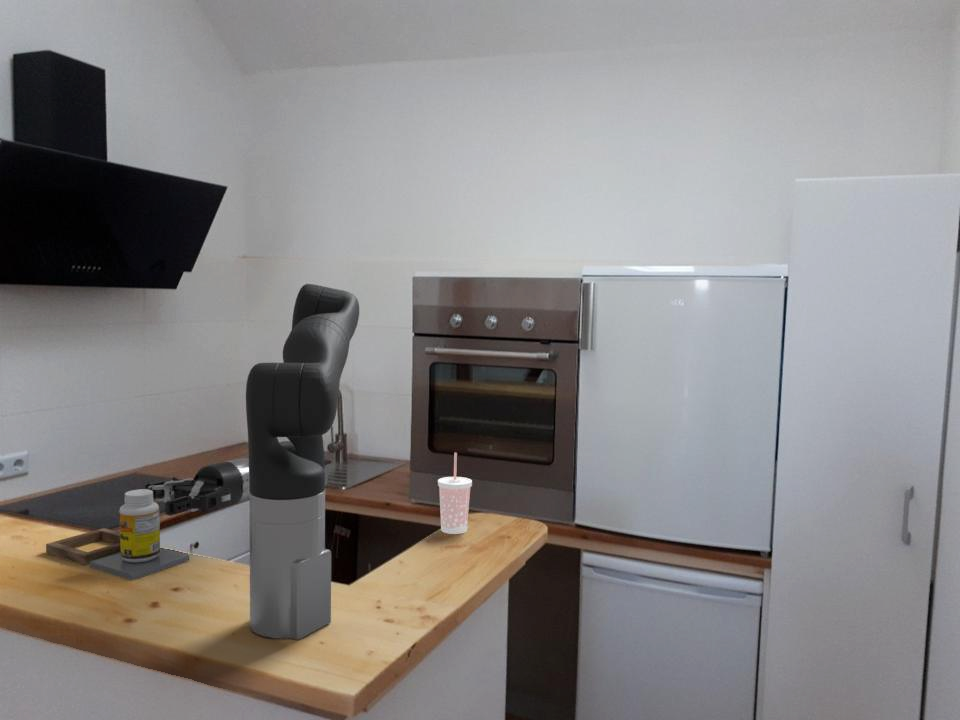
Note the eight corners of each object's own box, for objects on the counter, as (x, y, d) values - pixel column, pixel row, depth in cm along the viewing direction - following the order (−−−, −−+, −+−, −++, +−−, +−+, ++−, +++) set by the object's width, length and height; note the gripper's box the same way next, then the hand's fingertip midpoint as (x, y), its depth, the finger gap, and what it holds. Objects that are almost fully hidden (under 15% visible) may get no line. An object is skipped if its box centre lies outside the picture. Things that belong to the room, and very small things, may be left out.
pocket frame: (143, 547, 127) (142, 538, 127) (85, 565, 119) (85, 555, 119) (104, 536, 132) (103, 528, 132) (46, 553, 124) (46, 544, 124)
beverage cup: (452, 522, 145) (453, 447, 143) (478, 529, 141) (479, 452, 140) (429, 530, 140) (431, 452, 139) (456, 537, 136) (457, 457, 135)
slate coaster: (189, 560, 122) (189, 555, 122) (132, 580, 113) (132, 574, 113) (147, 548, 127) (147, 543, 127) (89, 566, 118) (89, 561, 118)
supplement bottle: (118, 555, 121) (116, 490, 120) (156, 549, 124) (155, 485, 123) (123, 566, 116) (121, 498, 116) (163, 560, 119) (161, 494, 118)
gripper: (200, 456, 138) (118, 474, 124) (259, 466, 131) (179, 487, 117) (201, 498, 139) (119, 520, 125) (260, 510, 132) (180, 536, 118)
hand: (148, 504), depth 121 cm, fingers open, 8 cm apart
